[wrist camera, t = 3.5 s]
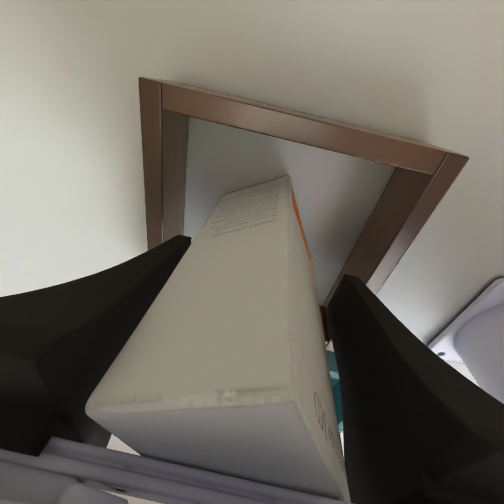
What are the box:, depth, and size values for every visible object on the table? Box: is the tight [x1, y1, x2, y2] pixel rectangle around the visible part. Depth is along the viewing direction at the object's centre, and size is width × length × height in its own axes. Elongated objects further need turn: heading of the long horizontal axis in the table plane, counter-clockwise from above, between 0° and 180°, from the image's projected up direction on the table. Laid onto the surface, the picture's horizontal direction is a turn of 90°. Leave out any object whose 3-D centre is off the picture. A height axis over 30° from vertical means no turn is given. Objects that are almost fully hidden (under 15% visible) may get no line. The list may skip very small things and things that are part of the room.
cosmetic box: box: [85, 176, 351, 503], centre depth 10 cm, size 6×4×12 cm
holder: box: [139, 77, 469, 352], centre depth 14 cm, size 13×13×3 cm
